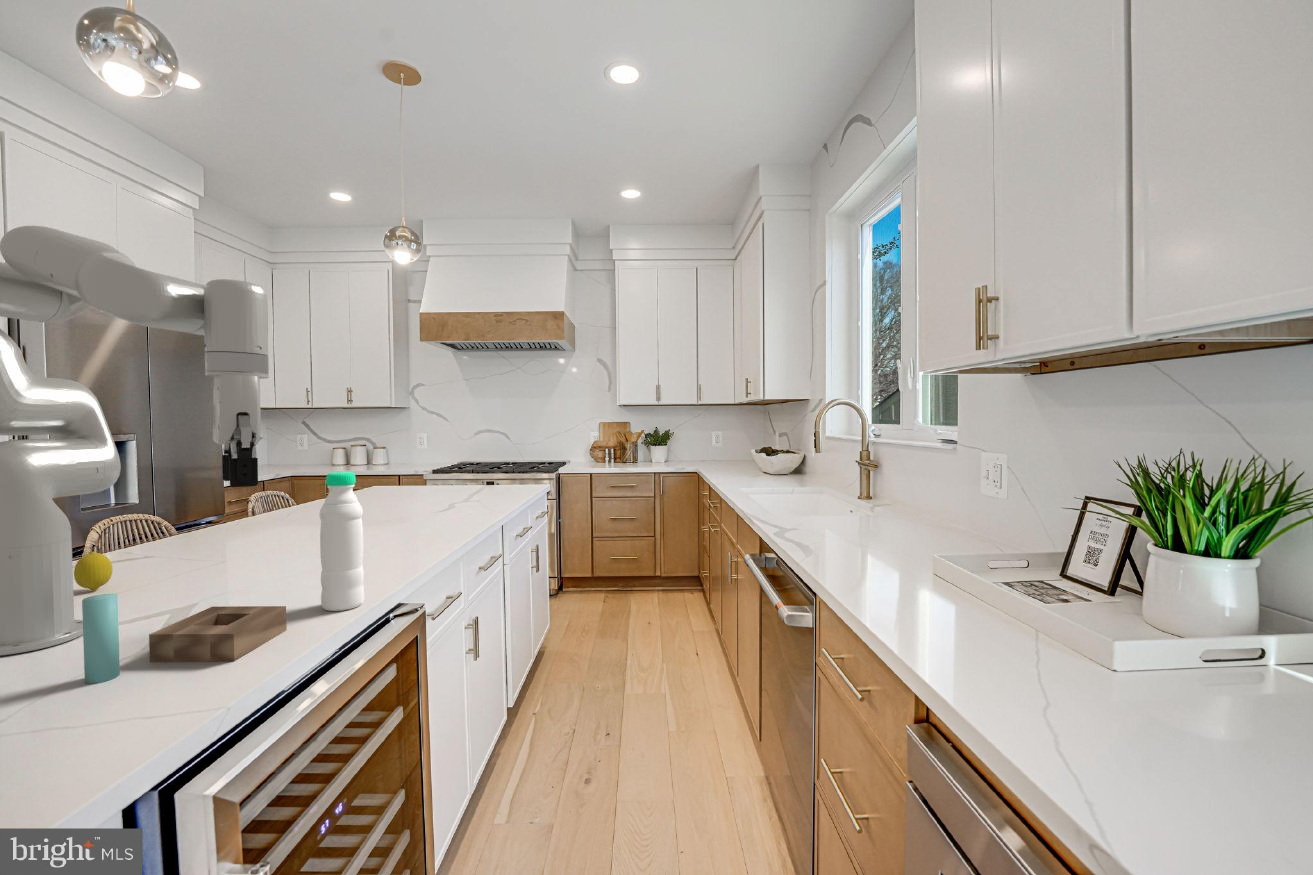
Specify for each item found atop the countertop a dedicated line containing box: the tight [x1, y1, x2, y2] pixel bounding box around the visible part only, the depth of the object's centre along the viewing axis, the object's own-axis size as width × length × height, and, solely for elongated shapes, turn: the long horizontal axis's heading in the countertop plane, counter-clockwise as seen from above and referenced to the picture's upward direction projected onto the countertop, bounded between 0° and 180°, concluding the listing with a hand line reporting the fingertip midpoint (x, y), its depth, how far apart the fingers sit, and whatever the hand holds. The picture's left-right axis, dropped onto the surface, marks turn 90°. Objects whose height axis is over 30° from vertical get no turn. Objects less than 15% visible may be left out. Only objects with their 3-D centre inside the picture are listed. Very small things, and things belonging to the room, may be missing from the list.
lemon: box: [73, 551, 113, 592], centre depth 115 cm, size 6×6×8 cm
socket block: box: [148, 605, 287, 663], centre depth 88 cm, size 12×12×4 cm
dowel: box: [81, 593, 121, 685], centre depth 77 cm, size 3×3×11 cm
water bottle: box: [319, 471, 365, 612], centre depth 106 cm, size 7×7×25 cm
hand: (239, 483), depth 84 cm, fingers open, 9 cm apart
